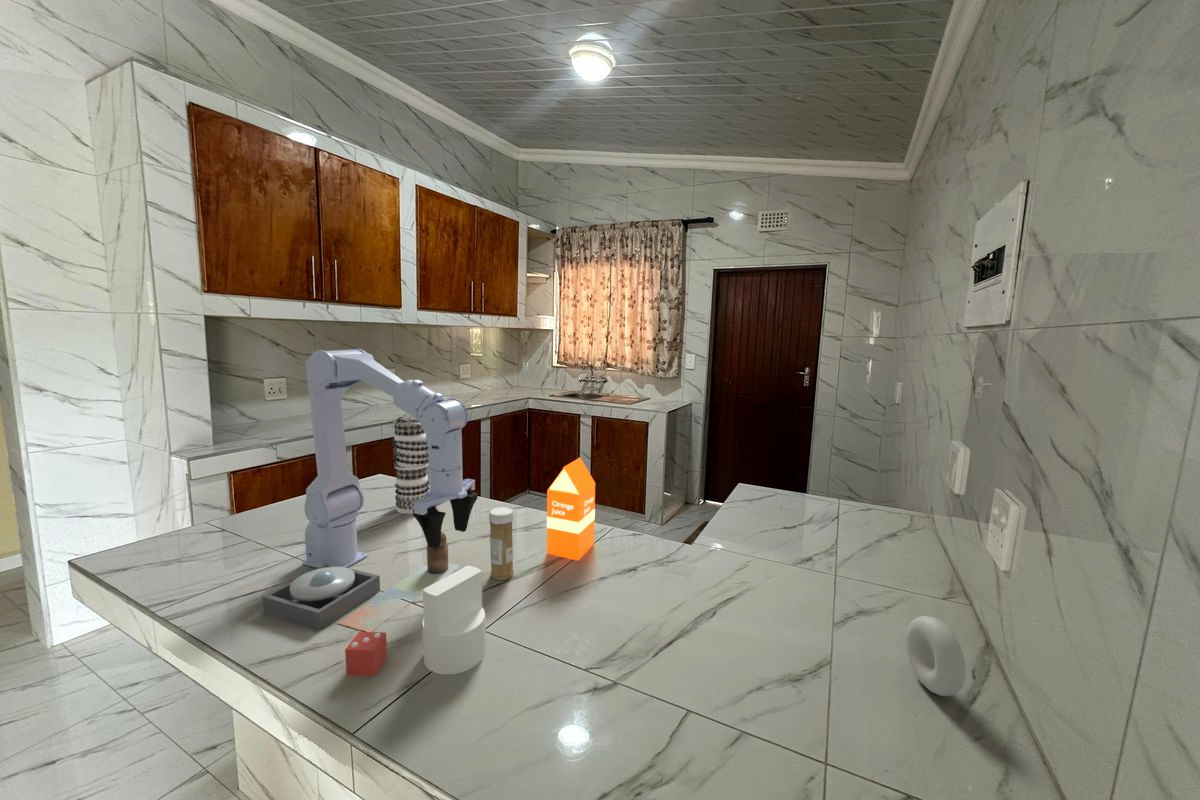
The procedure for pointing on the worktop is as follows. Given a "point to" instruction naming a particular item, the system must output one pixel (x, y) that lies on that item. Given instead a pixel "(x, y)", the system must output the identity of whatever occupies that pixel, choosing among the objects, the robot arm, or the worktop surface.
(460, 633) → the cylinder with rectangular tab
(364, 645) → the red die
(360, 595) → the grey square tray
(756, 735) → the worktop surface
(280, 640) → the worktop surface
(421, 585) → the strip
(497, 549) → the sprinkles bottle
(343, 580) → the dome
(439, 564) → the walnut pawn
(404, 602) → the worktop surface
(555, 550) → the orange juice
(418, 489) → the decorative candle
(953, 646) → the donut
